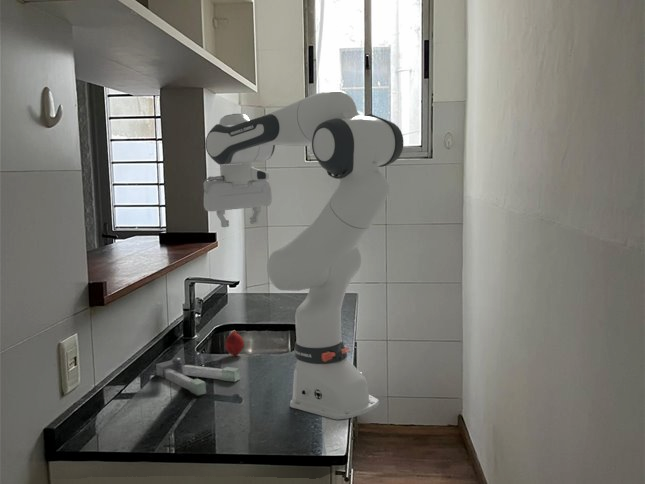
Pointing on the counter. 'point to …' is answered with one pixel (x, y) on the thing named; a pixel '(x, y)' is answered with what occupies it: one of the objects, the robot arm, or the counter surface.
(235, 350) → the onion
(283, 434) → the counter surface
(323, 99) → the robot arm
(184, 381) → the tong base
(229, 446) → the counter surface
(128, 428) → the counter surface
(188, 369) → the tong arm
